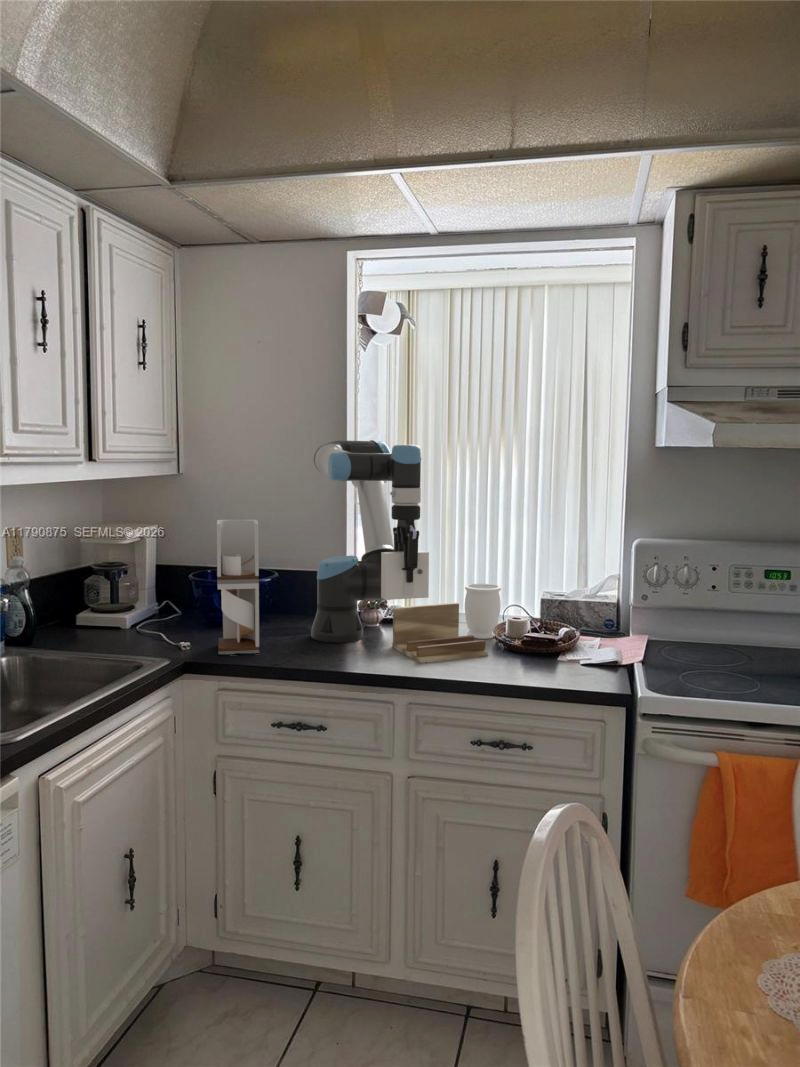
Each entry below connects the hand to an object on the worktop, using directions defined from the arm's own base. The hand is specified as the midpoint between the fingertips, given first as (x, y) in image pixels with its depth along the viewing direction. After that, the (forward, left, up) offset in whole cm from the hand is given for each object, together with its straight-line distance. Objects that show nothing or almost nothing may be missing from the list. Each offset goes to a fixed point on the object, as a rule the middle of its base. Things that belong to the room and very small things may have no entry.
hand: (405, 593), depth 210 cm
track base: (-2, +11, -17) cm, 21 cm away
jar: (-13, +31, -17) cm, 38 cm away
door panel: (0, 0, -1) cm, 1 cm away
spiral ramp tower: (-24, -39, -17) cm, 49 cm away
